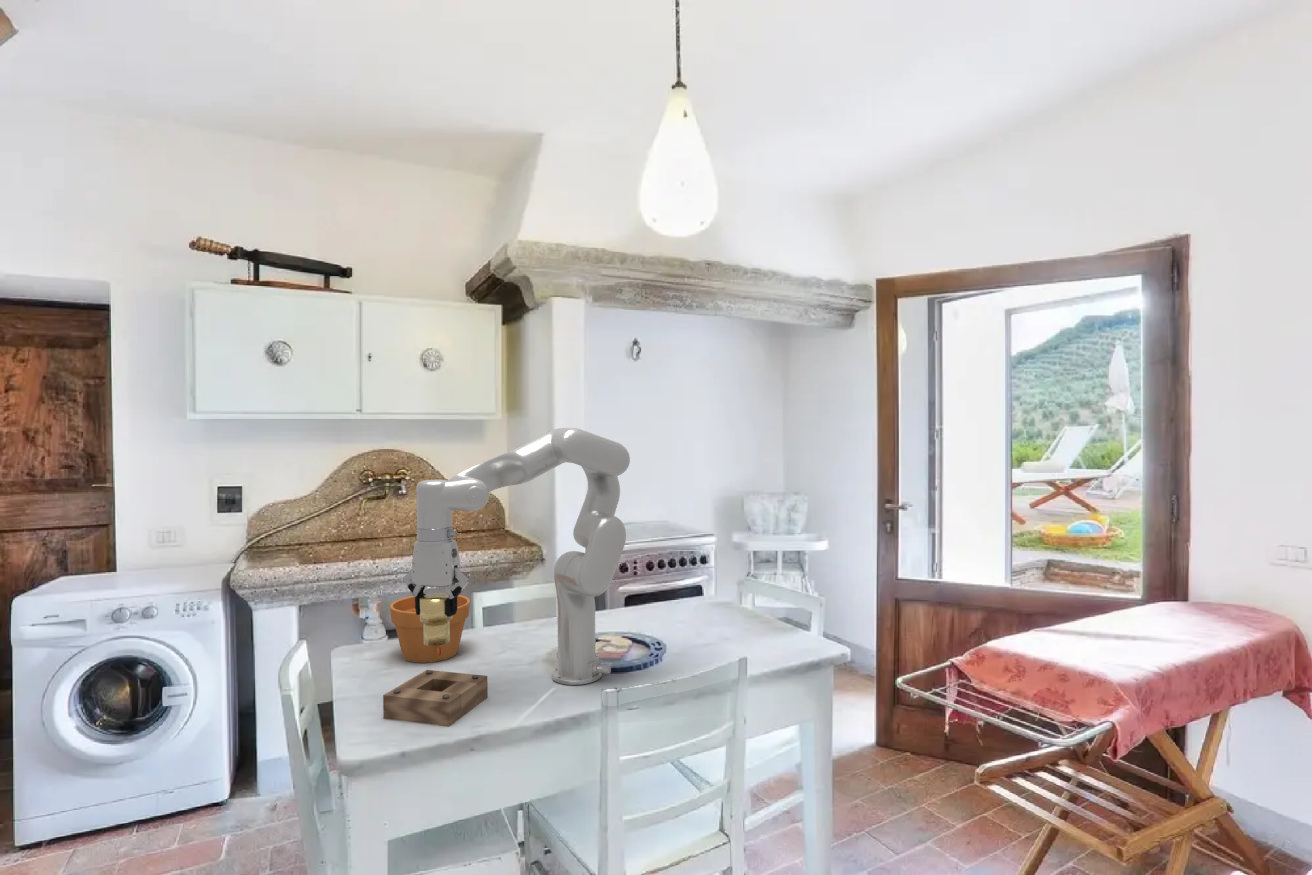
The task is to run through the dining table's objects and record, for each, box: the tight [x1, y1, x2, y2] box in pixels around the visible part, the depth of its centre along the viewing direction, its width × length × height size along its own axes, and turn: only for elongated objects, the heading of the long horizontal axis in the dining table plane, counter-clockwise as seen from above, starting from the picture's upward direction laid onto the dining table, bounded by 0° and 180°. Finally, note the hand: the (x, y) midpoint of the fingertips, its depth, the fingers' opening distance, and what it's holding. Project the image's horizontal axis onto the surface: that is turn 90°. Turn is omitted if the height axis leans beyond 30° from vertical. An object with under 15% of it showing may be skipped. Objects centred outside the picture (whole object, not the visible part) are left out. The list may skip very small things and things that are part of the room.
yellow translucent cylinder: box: [420, 592, 453, 646], centre depth 155 cm, size 7×7×10 cm
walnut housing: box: [382, 669, 489, 727], centre depth 154 cm, size 16×16×6 cm
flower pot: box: [389, 593, 471, 664], centre depth 193 cm, size 21×21×15 cm
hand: (436, 613), depth 155 cm, fingers closed on yellow translucent cylinder, 7 cm apart
